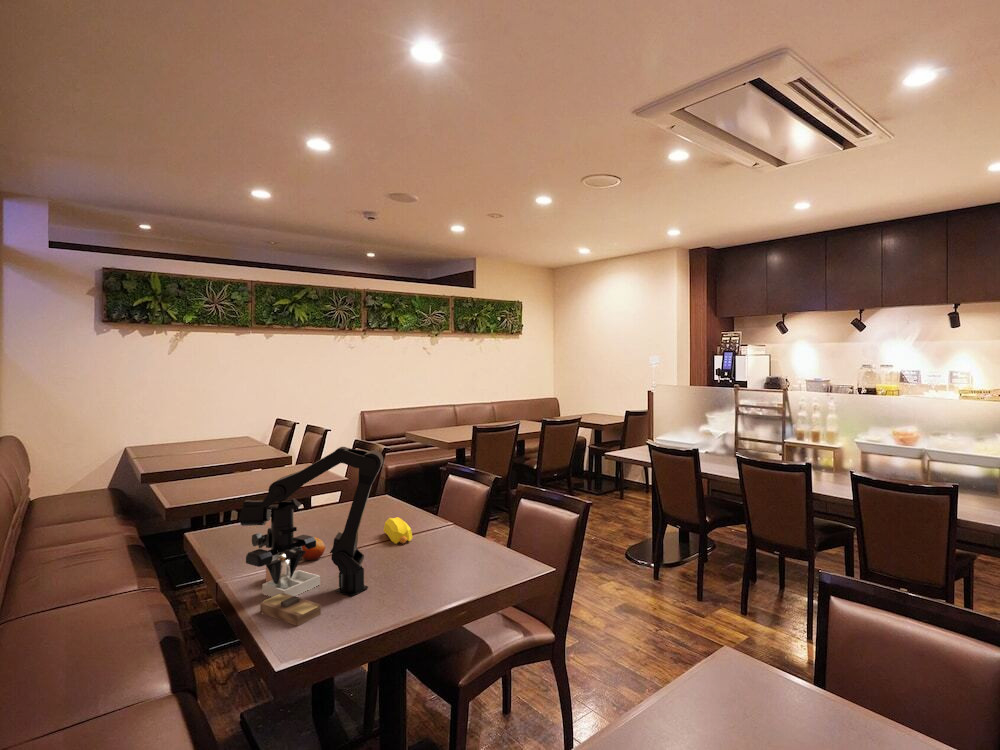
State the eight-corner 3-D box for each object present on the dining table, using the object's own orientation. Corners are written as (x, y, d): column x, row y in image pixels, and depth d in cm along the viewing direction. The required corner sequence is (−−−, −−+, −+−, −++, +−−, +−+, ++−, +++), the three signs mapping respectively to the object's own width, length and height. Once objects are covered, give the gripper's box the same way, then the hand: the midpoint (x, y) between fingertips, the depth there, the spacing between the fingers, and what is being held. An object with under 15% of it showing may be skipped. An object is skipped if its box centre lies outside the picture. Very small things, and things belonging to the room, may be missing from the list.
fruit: (293, 552, 176) (306, 530, 177) (315, 562, 178) (327, 540, 179) (293, 560, 168) (306, 537, 169) (315, 570, 170) (329, 547, 172)
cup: (298, 578, 157) (298, 562, 157) (277, 586, 151) (277, 570, 151) (282, 573, 161) (282, 558, 161) (261, 581, 155) (261, 565, 155)
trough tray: (320, 585, 152) (319, 575, 152) (284, 601, 142) (284, 590, 142) (298, 579, 156) (298, 569, 156) (262, 594, 146) (262, 584, 146)
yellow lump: (393, 547, 185) (414, 544, 188) (393, 528, 185) (414, 525, 188) (381, 533, 201) (401, 530, 205) (381, 515, 201) (401, 513, 205)
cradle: (321, 614, 134) (321, 600, 134) (298, 626, 128) (298, 611, 128) (282, 602, 141) (282, 588, 141) (259, 612, 135) (259, 598, 135)
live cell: (293, 584, 147) (293, 557, 147) (281, 589, 144) (281, 561, 144) (284, 581, 149) (283, 554, 149) (271, 586, 146) (271, 558, 146)
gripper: (291, 512, 158) (291, 564, 159) (232, 528, 142) (233, 586, 142) (317, 517, 153) (317, 571, 153) (259, 535, 137) (259, 595, 137)
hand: (282, 580), depth 146 cm, fingers closed on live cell, 4 cm apart
